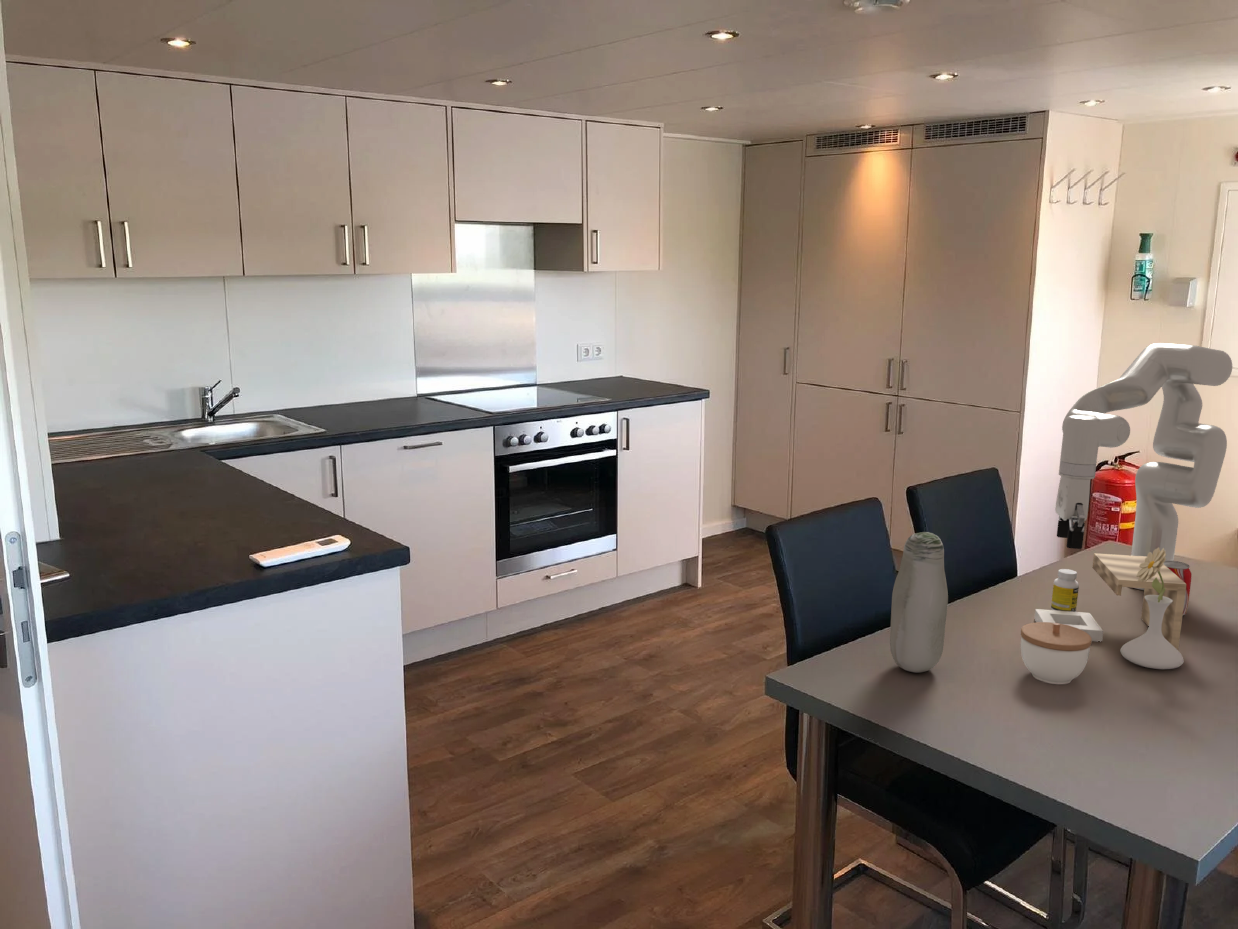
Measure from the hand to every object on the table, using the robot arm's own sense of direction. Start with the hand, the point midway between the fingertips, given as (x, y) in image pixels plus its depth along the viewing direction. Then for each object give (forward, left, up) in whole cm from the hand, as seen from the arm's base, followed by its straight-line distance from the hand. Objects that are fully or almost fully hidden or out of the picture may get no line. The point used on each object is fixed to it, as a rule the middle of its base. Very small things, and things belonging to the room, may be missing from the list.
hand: (1068, 542), depth 227 cm
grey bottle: (+43, -37, -17) cm, 59 cm away
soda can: (-4, +24, -17) cm, 30 cm away
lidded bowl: (+41, -11, -17) cm, 45 cm away
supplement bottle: (0, 0, -17) cm, 17 cm away
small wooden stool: (+11, +12, -17) cm, 23 cm away
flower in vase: (+30, +10, -17) cm, 36 cm away
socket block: (+13, -2, -17) cm, 21 cm away
